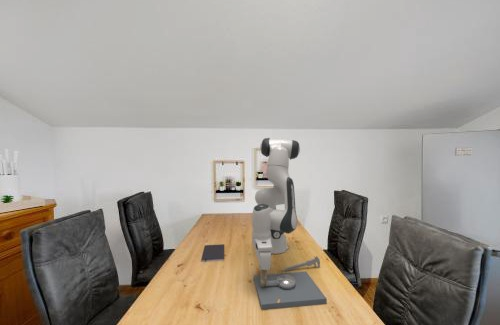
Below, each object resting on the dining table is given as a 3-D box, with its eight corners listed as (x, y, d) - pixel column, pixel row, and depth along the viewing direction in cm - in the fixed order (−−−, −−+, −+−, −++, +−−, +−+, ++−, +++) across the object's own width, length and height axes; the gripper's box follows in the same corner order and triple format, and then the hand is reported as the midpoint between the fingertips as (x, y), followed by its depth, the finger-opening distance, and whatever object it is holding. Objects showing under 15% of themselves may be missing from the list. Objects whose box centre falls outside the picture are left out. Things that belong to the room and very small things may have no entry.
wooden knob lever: (292, 278, 100) (291, 263, 100) (298, 288, 92) (297, 272, 92) (259, 280, 98) (259, 265, 98) (262, 291, 90) (262, 274, 90)
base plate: (253, 279, 103) (253, 274, 103) (306, 275, 107) (306, 271, 107) (261, 310, 82) (261, 304, 82) (326, 303, 86) (326, 298, 86)
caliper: (319, 267, 115) (319, 255, 115) (320, 268, 114) (320, 256, 114) (282, 270, 112) (282, 258, 112) (282, 272, 111) (282, 259, 111)
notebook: (224, 261, 123) (224, 246, 144) (224, 258, 123) (224, 244, 144) (201, 262, 122) (204, 247, 143) (201, 260, 122) (204, 245, 143)
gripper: (251, 233, 111) (252, 260, 111) (258, 249, 91) (258, 282, 91) (264, 232, 112) (264, 259, 112) (273, 248, 91) (273, 281, 92)
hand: (261, 269), depth 101 cm, fingers closed
